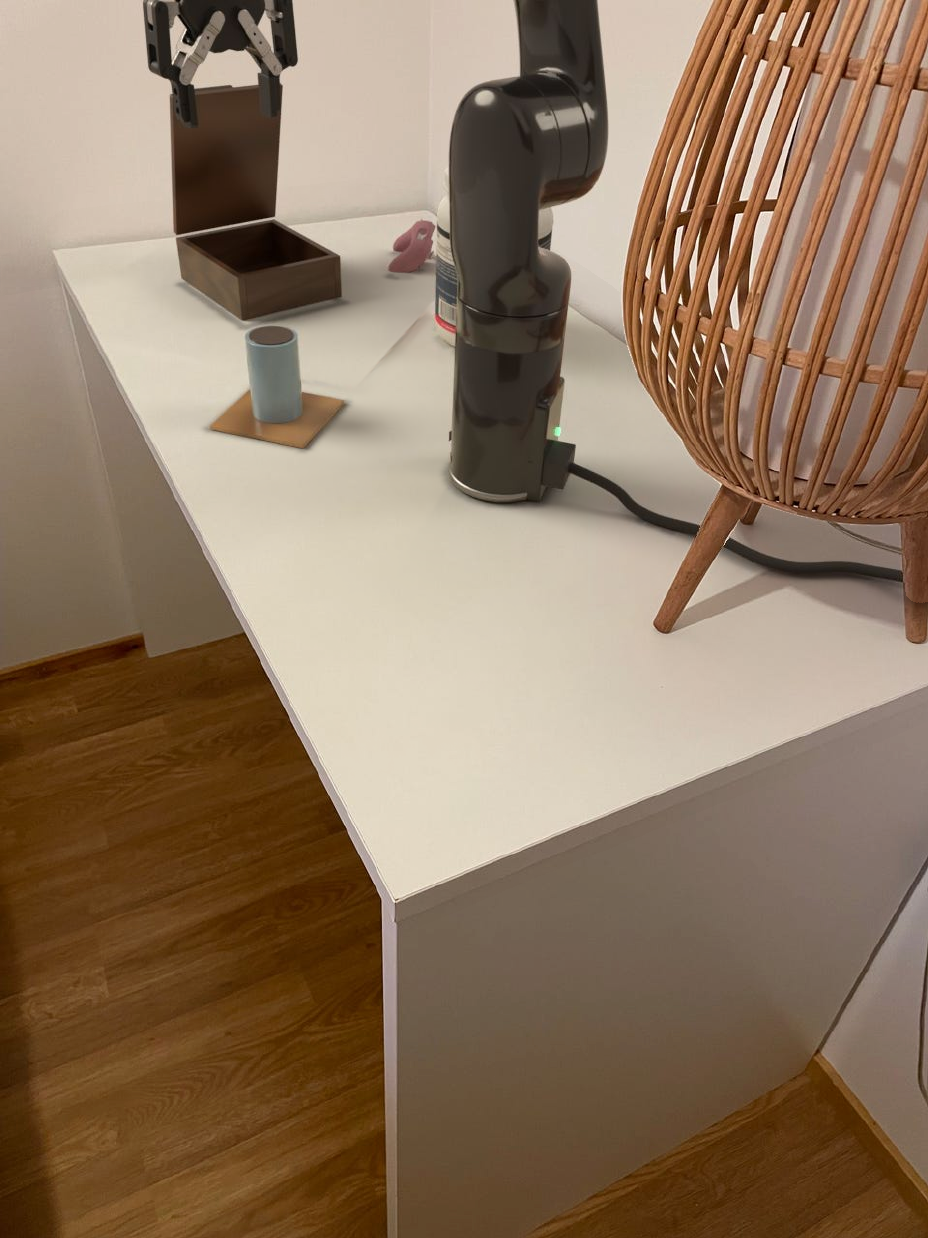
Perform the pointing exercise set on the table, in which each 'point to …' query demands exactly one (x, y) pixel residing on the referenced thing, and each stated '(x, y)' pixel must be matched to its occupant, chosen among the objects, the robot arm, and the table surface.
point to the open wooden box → (259, 268)
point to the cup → (274, 373)
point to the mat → (289, 433)
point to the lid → (224, 160)
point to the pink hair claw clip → (413, 247)
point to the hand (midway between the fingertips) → (230, 121)
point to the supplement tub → (447, 271)
